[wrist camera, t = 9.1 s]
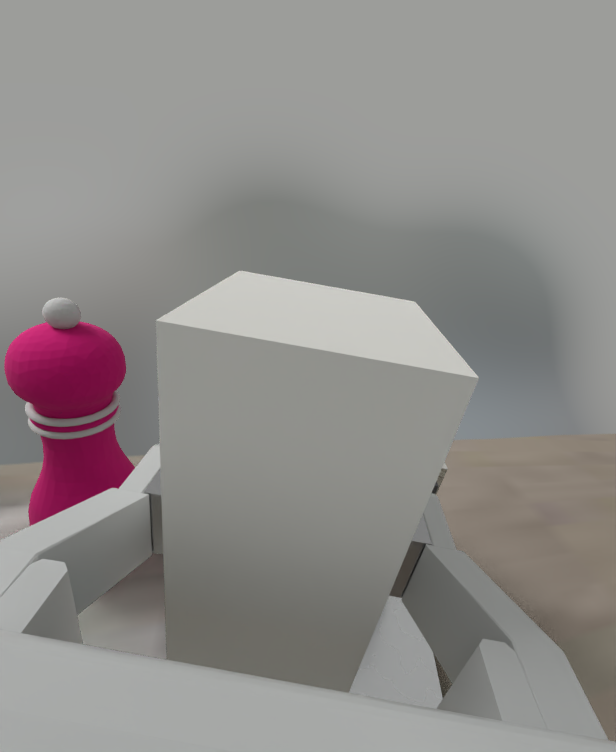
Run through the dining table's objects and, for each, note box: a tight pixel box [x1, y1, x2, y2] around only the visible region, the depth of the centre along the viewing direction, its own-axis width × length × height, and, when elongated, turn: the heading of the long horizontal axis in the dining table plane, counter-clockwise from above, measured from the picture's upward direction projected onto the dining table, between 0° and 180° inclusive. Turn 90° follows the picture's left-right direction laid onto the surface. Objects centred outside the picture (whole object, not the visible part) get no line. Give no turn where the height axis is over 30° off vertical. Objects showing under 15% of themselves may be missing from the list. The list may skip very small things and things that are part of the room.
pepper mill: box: [5, 298, 135, 526], centre depth 24 cm, size 7×7×20 cm
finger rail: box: [349, 462, 447, 709], centre depth 18 cm, size 8×28×14 cm, turn 175°
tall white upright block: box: [156, 271, 479, 693], centre depth 9 cm, size 4×5×12 cm
